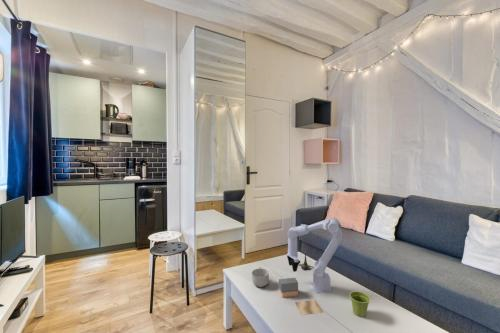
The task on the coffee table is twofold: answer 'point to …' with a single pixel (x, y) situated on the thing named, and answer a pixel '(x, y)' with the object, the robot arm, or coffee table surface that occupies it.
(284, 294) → the peach slab
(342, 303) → the coffee table surface
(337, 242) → the robot arm
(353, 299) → the plant pot
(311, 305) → the wooden board
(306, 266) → the eiffel tower figurine
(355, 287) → the coffee table surface
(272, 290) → the coffee table surface
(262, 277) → the teacup
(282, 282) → the gray rectangular block
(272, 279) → the coffee table surface
